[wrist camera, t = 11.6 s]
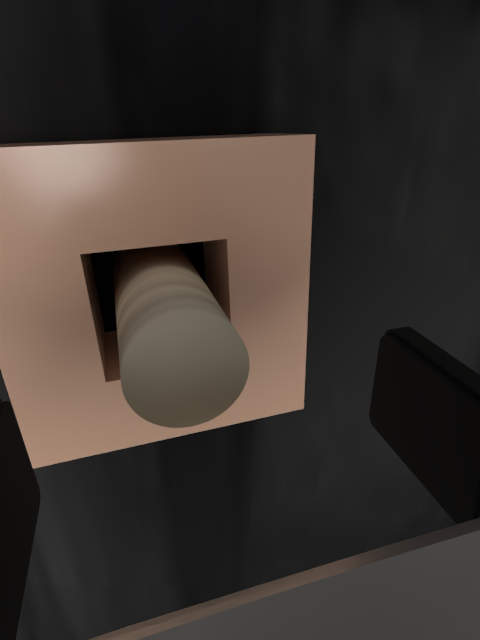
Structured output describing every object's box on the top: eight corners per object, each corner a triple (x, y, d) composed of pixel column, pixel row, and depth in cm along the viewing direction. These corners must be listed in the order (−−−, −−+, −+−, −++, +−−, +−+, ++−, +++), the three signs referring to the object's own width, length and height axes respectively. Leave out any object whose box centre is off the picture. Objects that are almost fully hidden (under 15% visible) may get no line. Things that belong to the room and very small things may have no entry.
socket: (-27, 145, 17) (-71, 150, 13) (269, 133, 20) (315, 134, 16) (46, 403, 23) (32, 468, 18) (269, 361, 26) (303, 408, 21)
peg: (106, 240, 20) (110, 326, 11) (188, 233, 21) (248, 305, 12) (119, 315, 22) (131, 439, 13) (194, 305, 23) (250, 413, 14)
